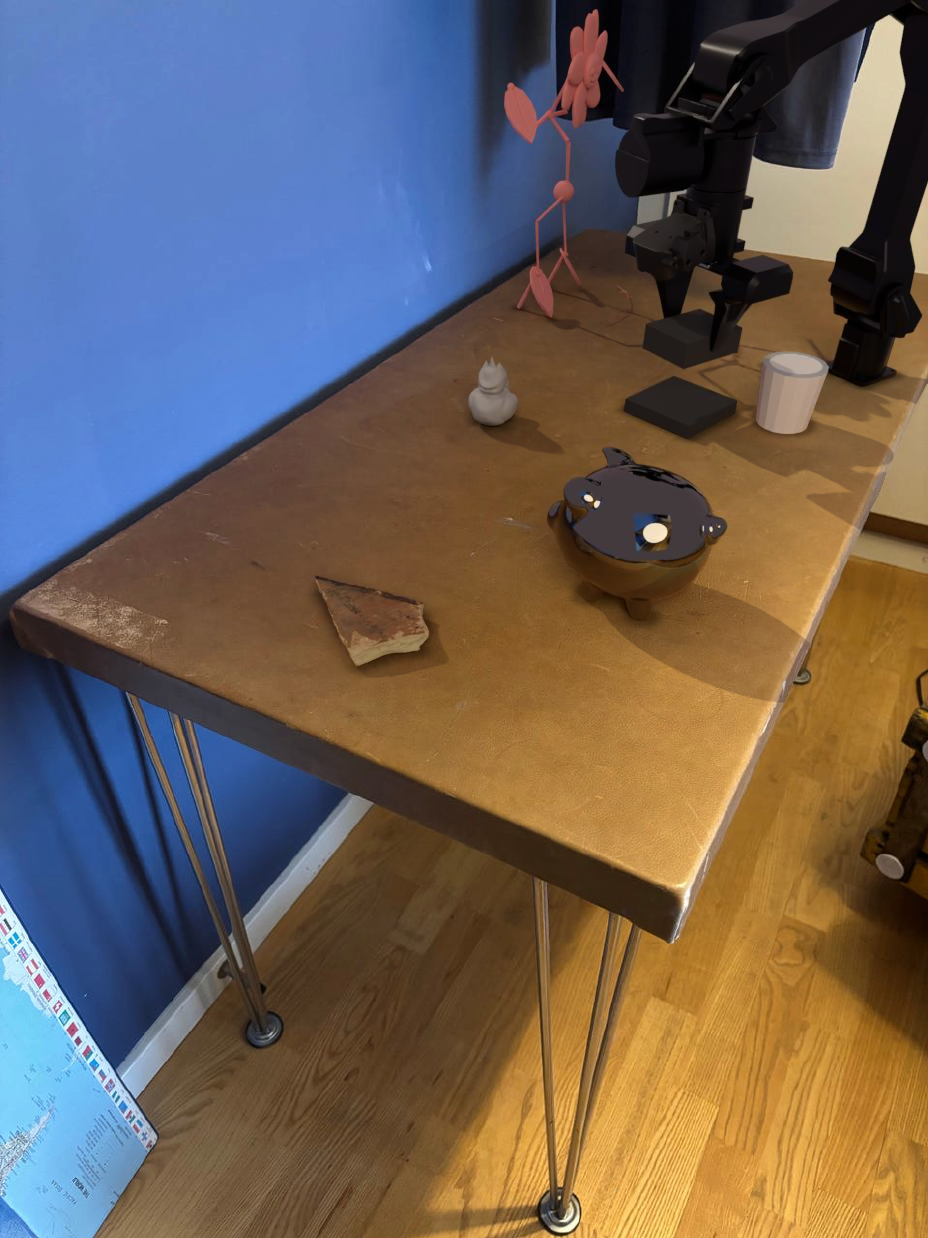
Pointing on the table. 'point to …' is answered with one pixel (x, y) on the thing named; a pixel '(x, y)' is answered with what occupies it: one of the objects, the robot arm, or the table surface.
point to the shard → (373, 620)
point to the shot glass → (789, 391)
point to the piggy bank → (634, 531)
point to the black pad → (687, 339)
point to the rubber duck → (492, 396)
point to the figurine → (522, 116)
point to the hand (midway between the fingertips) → (691, 339)
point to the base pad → (680, 406)
